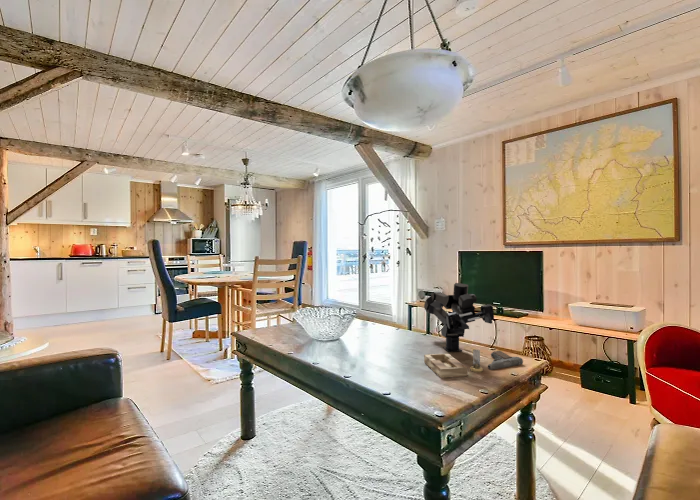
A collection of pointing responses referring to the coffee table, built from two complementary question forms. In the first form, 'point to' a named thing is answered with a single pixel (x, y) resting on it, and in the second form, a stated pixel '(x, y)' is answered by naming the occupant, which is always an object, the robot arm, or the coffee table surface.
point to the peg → (476, 362)
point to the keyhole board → (445, 365)
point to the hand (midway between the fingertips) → (480, 325)
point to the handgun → (503, 360)
